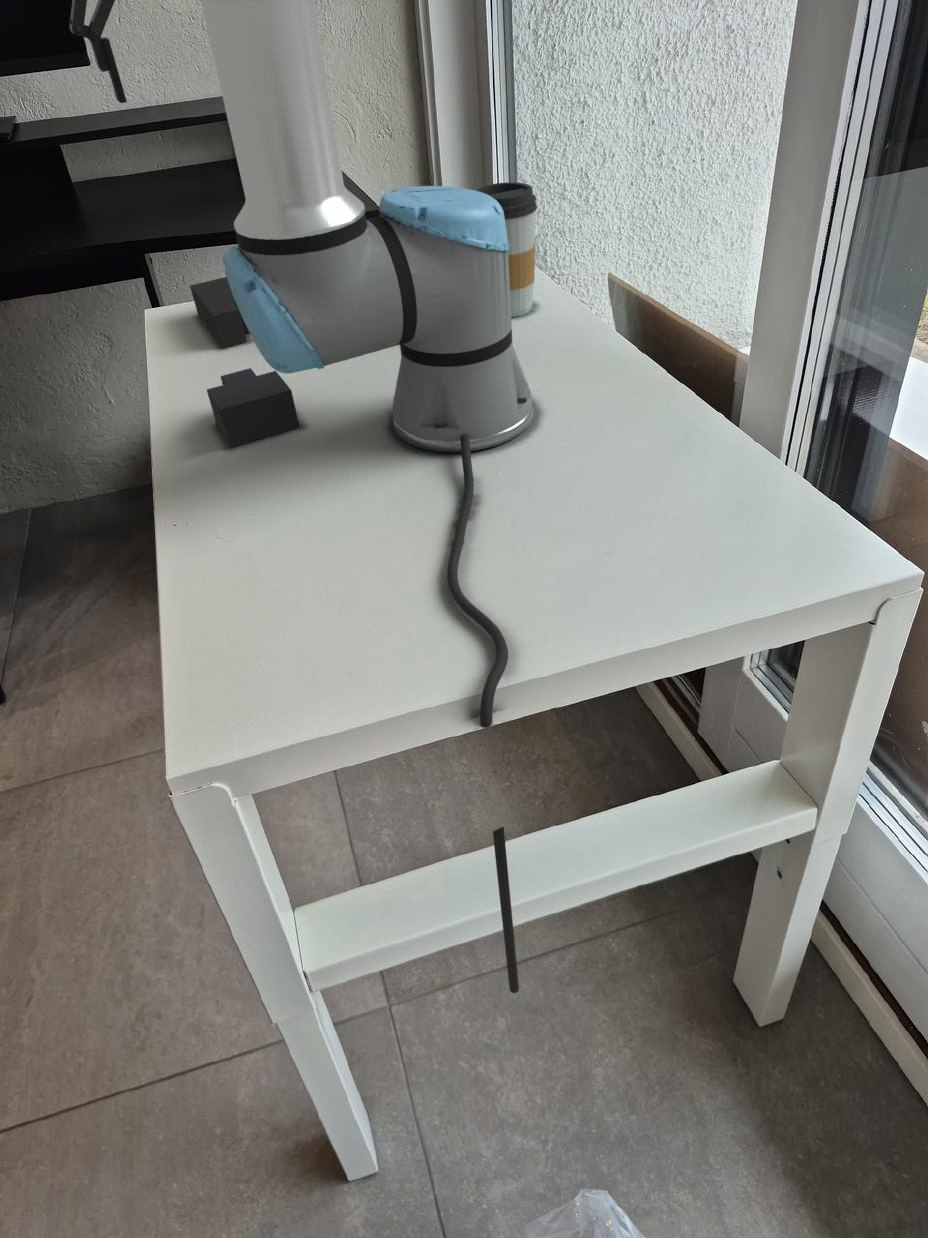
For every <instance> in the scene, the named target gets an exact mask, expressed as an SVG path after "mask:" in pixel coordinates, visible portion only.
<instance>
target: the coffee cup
mask: <svg viewBox="0 0 928 1238" xmlns="http://www.w3.org/2000/svg"><path fill="white" fill-rule="evenodd" d="M475 191H478V192H482V193H484V194H487V195H489V196H491V197H492V198H494V199H495V200H496V201H497V202H498V203H499V204H500V206H501V207H502V209H503V212H504V217H505V225H506V232H507V239H508V243H509V250H508V261H509V282H510V302H511V318H515V317H520V316H523V315H525V314H528V313H529V312H530V311H531V309H532V306H533V304H534V284H535V271H536V270H535V269H536V267H535V266H536V265H535V264H536V212H537V210H538V205H537V197H536V195H535V194H534V192H533V186H531V184H527V183H523V182H514V181H513V182H512V181H511V182H497V183H491V184H488V185H483V186H481V187H479V188H477V189H475Z"/></svg>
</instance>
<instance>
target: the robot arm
mask: <svg viewBox="0 0 928 1238" xmlns="http://www.w3.org/2000/svg"><path fill="white" fill-rule="evenodd" d="M199 1H200V2H201V3H200V4H201V7H202V12H203V16H204V20H205V25H206V30H207V34H208V39H209V43H210V47H211V51H212V56H213V60H214V65H215V70H216V74H217V77H218V81H219V82H218V83H219V87H220V92H221V96H222V100H223V105H224V109H225V115H226V118H227V122H228V127H229V131H230V132H229V133H230V135H231V141H232V145H233V149H234V153H235V157H236V163H237V167H238V171H239V174H240V175H239V176H240V180H241V185H242V189H243V193H244V199H245V202H244V204H243V206H242V208H241V209H240V211H239V212H238V214H237V216H236V218H235V219H234V221H233V229H234V232H235V236H236V241H237V247H236V246H232V247H231V246H230V248H229V249H228V250H226V251H225V252H224V253H223V255H222V264H223V266H224V272H225V277H227V279H228V282H229V285H230V288H231V291H232V293H233V296H234V299H235V301H236V303H237V306H238V308H239V310H240V313H241V315H242V317H243V320H244V322H245V324H246V326H247V328H248V330H249V332H250V333H249V335H250V337H251V339H252V340H253V342H254V344H255V346H256V348H257V350H258V352H259V353H260V355H261V356H262V357H263V359H264V360H265V362H266V363H267V364H268V365H269V366H270V367H271V368H272V369H273V370H274V371H276V372H277V373H281V374H295V373H298V372H302V371H303V372H304V371H307V370H308V371H309V370H312V369H318V370H322V369H324V368H325V367H326V366H329V365H333V364H337V363H341V362H345V361H347V360H351V359H353V358H358V357H361V356H365V355H369V354H372V353H376V352H379V351H383V350H386V349H390V348H393V347H396V346H399V349H400V362H399V363H400V364H399V370H398V374H397V379H396V385H395V390H394V395H393V401H392V412H391V413H392V422H393V428H394V432H395V434H396V435H397V436H398V437H399V438H400V439H401V440H402V441H404V442H405V443H407V444H409V445H411V446H413V447H416V448H419V449H422V450H426V451H431V452H439V453H440V452H441V453H461V462H462V472H463V481H464V482H463V483H464V488H463V497H462V503H461V508H460V511H459V514H458V519H457V523H456V527H455V533H454V538H453V543H452V547H451V550H450V554H449V557H448V561H447V562H448V563H447V568H446V569H447V570H446V579H447V586H448V589H449V592H450V594H451V596H452V599H453V600H454V602H455V603H456V605H457V606H458V607H459V608H460V609H461V610H462V612H463V613H465V614H466V615H467V616H468V617H469V618H471V619H472V620H473V621H474V622H475V623H476V624H478V625H479V626H480V627H481V628H482V629H483V630H484V631H485V632H486V633H487V634H488V635H489V637H490V638H491V640H492V642H493V645H494V647H495V653H496V654H495V655H496V656H495V657H496V658H495V661H494V664H493V666H492V668H491V670H490V672H489V674H488V676H487V678H486V681H485V683H484V686H483V690H482V692H481V693H482V694H481V698H480V710H479V711H480V712H479V723H480V726H481V727H482V728H485V729H488V728H490V727H492V725H493V712H494V711H493V708H494V698H495V694H496V690H497V687H498V685H499V682H500V681H501V678H502V676H503V674H504V673H505V670H506V668H507V665H508V662H509V661H508V660H509V649H508V648H509V647H508V645H507V642H506V639H505V637H504V635H503V633H502V632H501V630H500V628H499V627H498V625H496V623H494V622H493V620H491V619H490V618H489V617H488V616H487V615H486V614H485V613H483V612H482V611H481V610H480V609H478V607H476V606H475V605H474V604H473V603H471V601H470V600H469V599H468V598H467V597H466V596H465V595H464V593H463V592H462V589H461V587H460V583H459V576H458V575H459V574H458V573H459V572H458V570H459V563H460V558H461V554H462V551H463V546H464V542H465V536H466V530H467V524H468V520H469V516H470V512H471V509H472V504H473V498H474V487H475V485H474V484H475V483H474V473H473V465H472V464H473V463H472V454H471V452H473V451H474V452H475V451H479V450H480V451H481V450H484V449H488V448H492V447H495V446H499V445H501V444H504V443H506V442H508V441H511V440H512V439H514V438H516V437H517V436H519V435H521V434H522V433H523V432H524V431H525V430H526V429H528V427H529V426H530V424H531V423H532V421H533V418H534V401H533V396H532V392H531V388H530V386H529V383H528V381H527V379H526V375H525V373H524V370H523V369H522V366H521V363H520V360H519V358H518V355H517V353H516V351H515V348H514V343H513V327H512V326H513V325H512V317H511V302H510V282H509V261H508V250H509V243H508V239H507V232H506V225H505V217H504V212H503V209H502V207H501V206H500V204H499V203H498V202H497V201H496V200H495V199H494V198H492V197H491V196H489V195H487V194H484V193H482V192H478V191H476V189H475V190H474V189H470V188H465V187H464V188H463V187H457V186H456V187H455V186H445V185H444V186H443V185H421V186H420V185H419V186H408V187H407V186H406V187H400V188H395V189H392V190H391V191H389V192H387V191H386V192H385V193H383V195H382V196H381V198H380V200H379V201H380V202H379V205H378V211H379V213H380V215H377V216H375V217H371V218H367V212H366V206H365V204H364V202H363V201H362V200H360V199H359V198H358V197H357V196H356V195H355V194H353V193H352V192H351V191H350V190H348V189H347V188H346V186H345V184H344V178H343V171H342V165H341V158H340V152H339V146H338V145H339V144H338V140H337V139H338V138H337V133H336V128H335V127H336V126H335V121H334V115H333V108H332V103H331V102H332V101H331V96H330V90H329V83H328V78H327V77H328V76H327V71H326V70H327V69H326V65H325V58H324V51H323V45H322V40H321V33H320V28H319V20H318V15H317V14H318V13H317V9H316V8H317V7H316V1H315V0H199ZM115 2H116V0H98V1H97V4H96V6H95V9H94V10H93V13H92V16H91V19H90V21H89V24H85V22H86V21H85V19H86V13H87V3H88V0H71V9H70V19H69V30H70V32H71V34H73V35H74V36H76V37H82V38H86V39H87V40H88V41H89V42H90V45H91V49H92V52H93V56H94V58H95V62H96V65H97V68H98V69H99V71H101V72H102V73H103V72H108V74H109V77H110V80H111V84H112V87H113V91H114V95H115V97H116V101H118V102H119V104H125V103H127V102H128V101H127V97H126V94H125V91H124V87H123V84H122V80H121V76H120V72H119V69H118V66H117V62H116V59H115V55H114V52H113V48H112V46H111V42H110V39H109V38H107V37H106V36H105V37H102V34H103V32H104V30H105V27H106V26H107V25H106V24H107V22H108V21H109V16H110V14H111V12H112V9H113V6H114V4H115ZM492 839H493V847H494V857H495V866H496V876H497V877H496V878H497V883H498V886H497V887H498V894H499V895H498V896H499V904H500V913H501V921H502V922H501V923H502V931H503V940H504V941H503V942H504V950H505V958H506V959H505V960H506V967H507V977H508V978H507V979H508V987H509V992H511V993H512V994H516V993H518V992H519V991H520V985H519V975H518V974H519V973H518V964H517V963H518V962H517V954H516V941H515V933H514V932H515V931H514V922H513V921H514V920H513V911H512V900H511V889H510V878H509V870H508V867H509V866H508V859H507V858H508V857H507V847H506V846H507V845H506V835H505V826H501V827H499V828H497V829H495V830H493V831H492Z"/></svg>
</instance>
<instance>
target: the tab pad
mask: <svg viewBox="0 0 928 1238" xmlns="http://www.w3.org/2000/svg"><path fill="white" fill-rule="evenodd" d="M220 380H221V383H222V385H218V386H215V387H211V388H207V389H206V393H207V396H208V399H209V403H210V406H211V410H212V413H213V417H214V421H215V424H216V427H217V428H218V430H219V432H220V433H221V435H222V437H223V438H224V440H225V442H226V443H227V446H229V448H234V447H238V446H240V445H244V444H248V443H251V442H254V441H257V440H261V439H265V438H267V437H271V436H275V435H277V434H281V433H285V432H288V431H291V430H295V429H298V428H300V422H299V418H298V413H297V410H296V405H295V400H294V396H293V392H292V389H291V387H290V386H288V384H287V383H286V382H285V380H284V379H283V378H282V377H281V376H280V374H279V372H278V371H276V370H273V371H270V372H266V373H262V374H259V375H257V374H256V373H255V372H254V370H253V369H252V368H245V369H242V370H237V371H234V372H231V373H227V374H223V375H220Z"/></svg>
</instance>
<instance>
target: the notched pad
mask: <svg viewBox="0 0 928 1238" xmlns="http://www.w3.org/2000/svg"><path fill="white" fill-rule="evenodd" d="M189 287H190V292H191V296H192V299H193V302H194V304H195V309H196V313H197V316H198V318H199V319H200V321H201V322H202V323H203V325H204V326H205V327H206V329H207V330H208V332H209V333H210V335H211V336H212V337H213V339H214V340H215V341H216V342H217V345H219V347H220V348H221V349H225V348H230V347H235V346H237V345H241V344H245V343H247V342H248V340H247V334H250V332H249V330H248V328H247V326H246V324H245V322H244V320H243V317H242V315H241V313H240V310H239V308H238V306H237V303H236V301H235V299H234V296H233V293H232V291H231V288H230V285H229V282H228V279H227V276H225V277H220V278H216V279H211V280H208V281H203V282H200V283H195V284H194V283H193V284H191V285H189Z"/></svg>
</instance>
